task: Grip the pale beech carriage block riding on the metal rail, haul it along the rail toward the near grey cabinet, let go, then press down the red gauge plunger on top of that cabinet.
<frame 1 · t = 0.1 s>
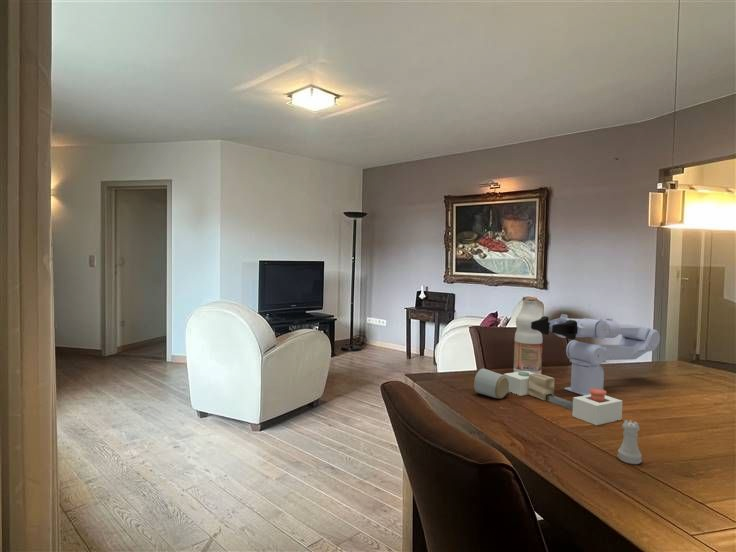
hand: (542, 327, 128), 22 cm above the table, tool horizontal, fingers open, 7 cm apart
rook chess piece: (629, 461, 91), on the table
carriage: (541, 386, 132), point 3 cm above the table, slide at 0.0 cm
ceramic mug: (493, 395, 133), on the table
white button box: (523, 390, 138), on the table
fruit juice: (527, 375, 157), on the table
rail: (556, 402, 127), on the table
near cabinet: (596, 417, 115), on the table
gauge plunger: (597, 398, 115), point 5 cm above the table, slide at 0.0 cm
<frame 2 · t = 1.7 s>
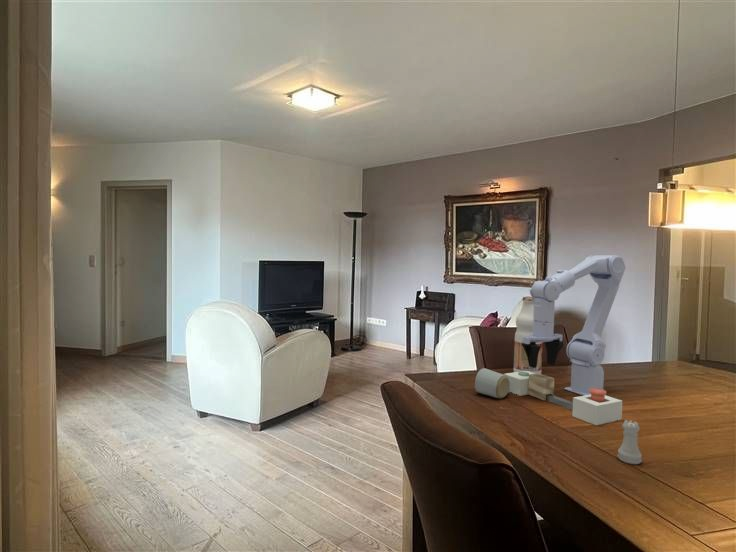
hand: (541, 365, 131), 9 cm above the table, tool pointing down, fingers open, 7 cm apart
nothing on the table moved.
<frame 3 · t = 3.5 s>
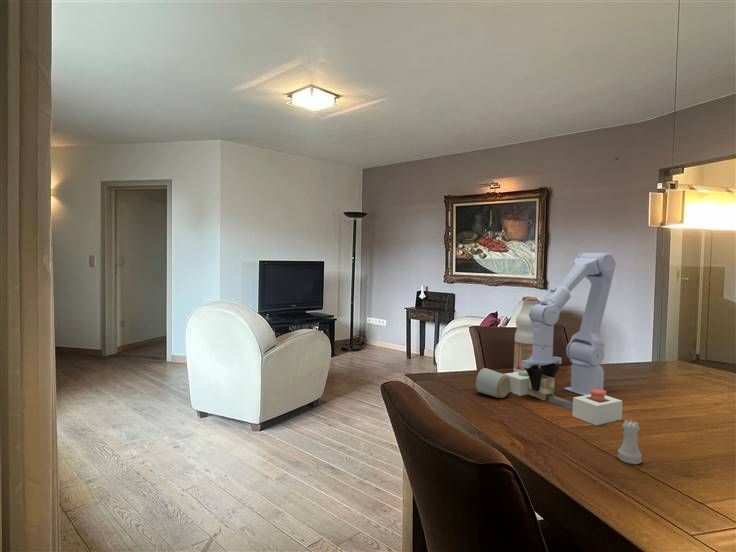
hand: (541, 389, 132), 2 cm above the table, tool pointing down, fingers closed on carriage, 4 cm apart
carriage: (541, 386, 132), point 3 cm above the table, slide at 0.0 cm, touching gripper
everything else where it was.
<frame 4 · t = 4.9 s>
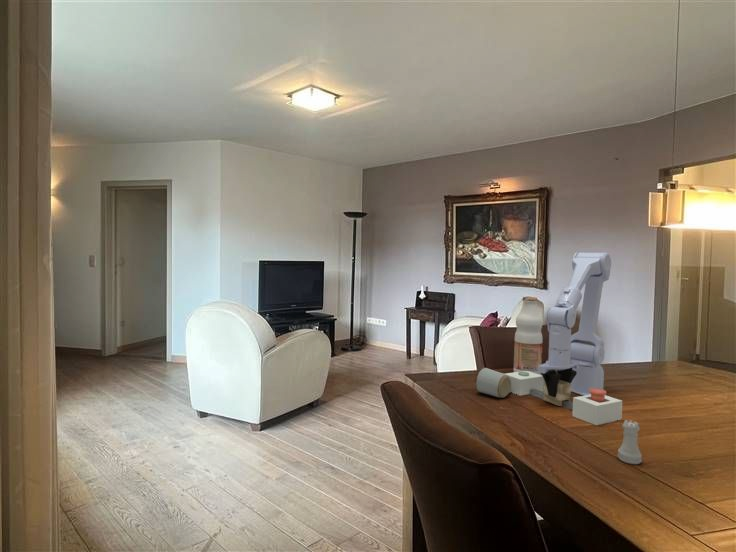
hand: (557, 395, 126), 2 cm above the table, tool pointing down, fingers closed on carriage, 4 cm apart
carriage: (556, 391, 126), point 3 cm above the table, slide at 5.7 cm, touching gripper
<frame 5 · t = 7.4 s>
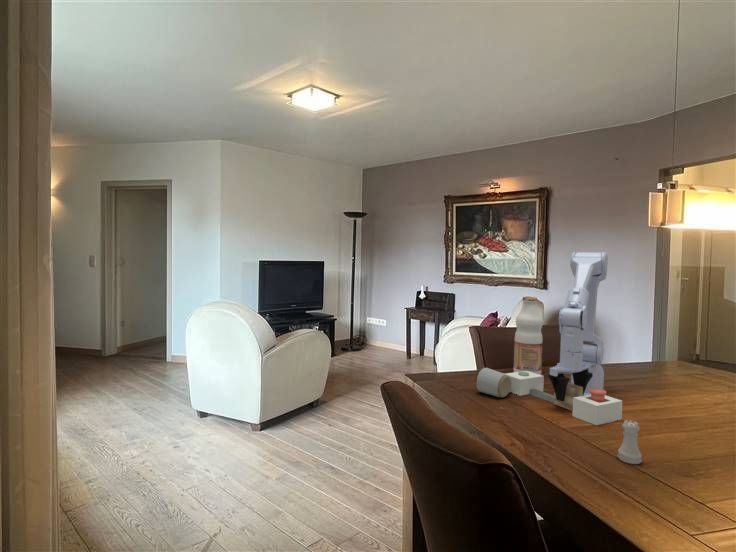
hand: (569, 398, 123), 3 cm above the table, tool pointing down, fingers open, 7 cm apart
carriage: (568, 395, 123), point 3 cm above the table, slide at 9.5 cm
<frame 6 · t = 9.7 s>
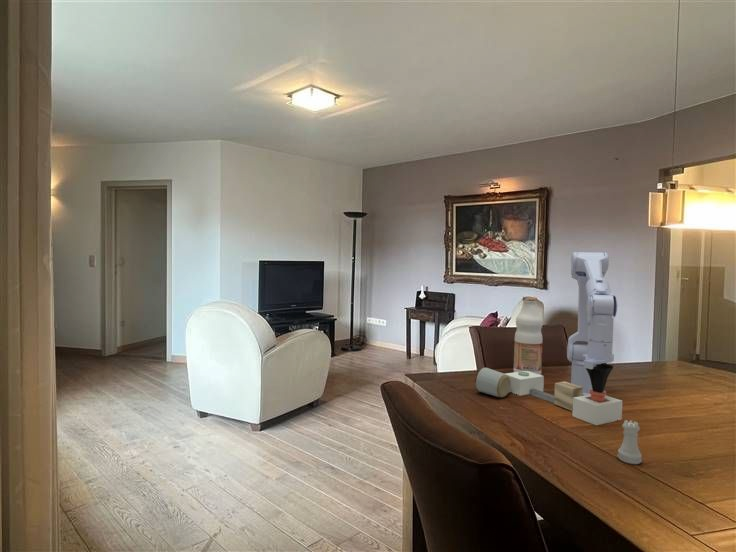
hand: (597, 391, 115), 7 cm above the table, tool pointing down, fingers closed, pressing on gauge plunger
gauge plunger: (597, 399, 115), point 5 cm above the table, slide at 0.3 cm, touching gripper
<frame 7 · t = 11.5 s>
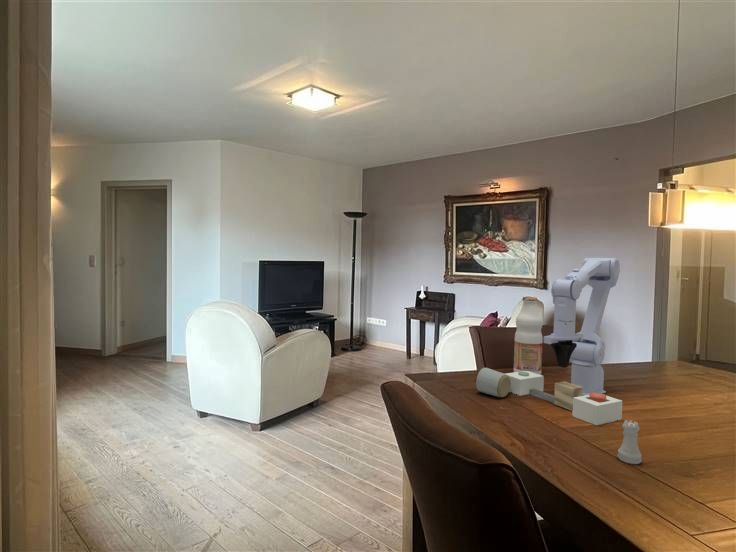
hand: (562, 366, 128), 10 cm above the table, tool pointing down, fingers closed
gauge plunger: (597, 402, 115), point 4 cm above the table, slide at 1.1 cm
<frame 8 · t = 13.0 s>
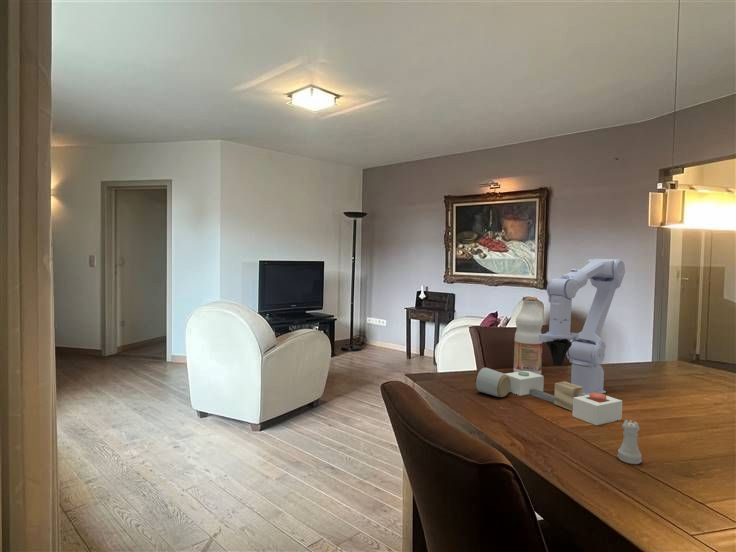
hand: (557, 364, 129), 10 cm above the table, tool pointing down, fingers closed
at the end: carriage slide at 9.5 cm; gauge plunger slide at 1.1 cm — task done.
